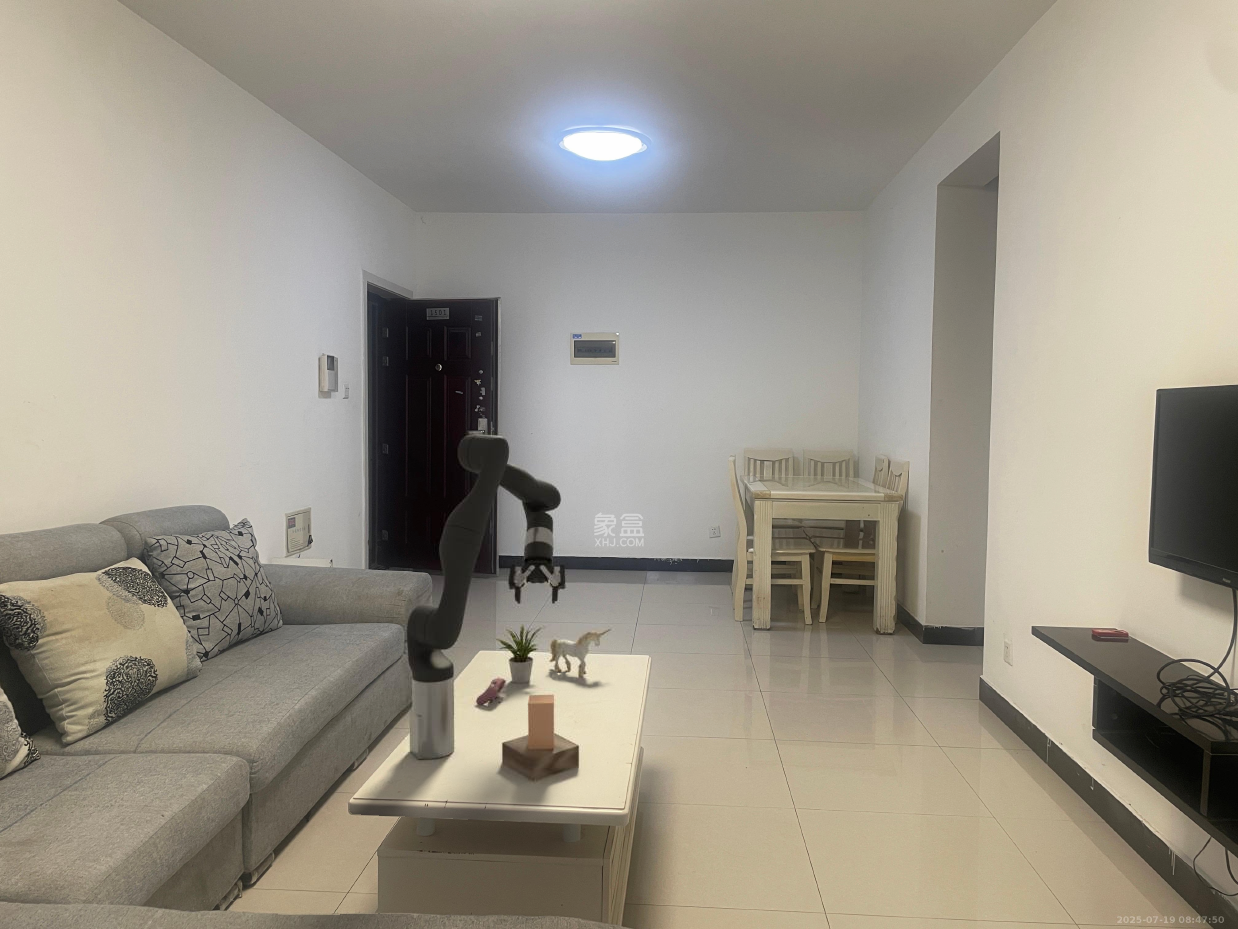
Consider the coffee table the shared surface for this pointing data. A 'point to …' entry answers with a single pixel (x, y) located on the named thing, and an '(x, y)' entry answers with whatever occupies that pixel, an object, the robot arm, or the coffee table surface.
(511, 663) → the house plant
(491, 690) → the pink rounded piece
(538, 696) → the peach block
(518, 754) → the walnut block
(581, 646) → the unicorn figurine
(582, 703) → the coffee table surface
